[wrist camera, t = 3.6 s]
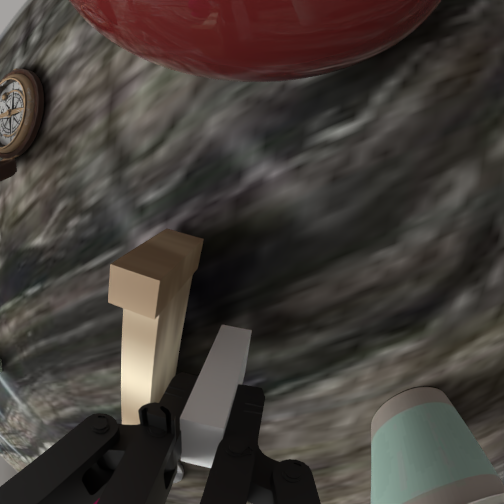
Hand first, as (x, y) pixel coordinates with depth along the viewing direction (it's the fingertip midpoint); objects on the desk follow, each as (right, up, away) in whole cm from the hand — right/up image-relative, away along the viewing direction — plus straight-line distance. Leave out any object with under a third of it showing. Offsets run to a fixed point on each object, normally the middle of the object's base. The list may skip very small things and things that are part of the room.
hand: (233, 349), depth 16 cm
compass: (-16, +14, +1) cm, 21 cm away
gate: (-5, -3, +3) cm, 6 cm away
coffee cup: (+12, -6, +3) cm, 14 cm away
